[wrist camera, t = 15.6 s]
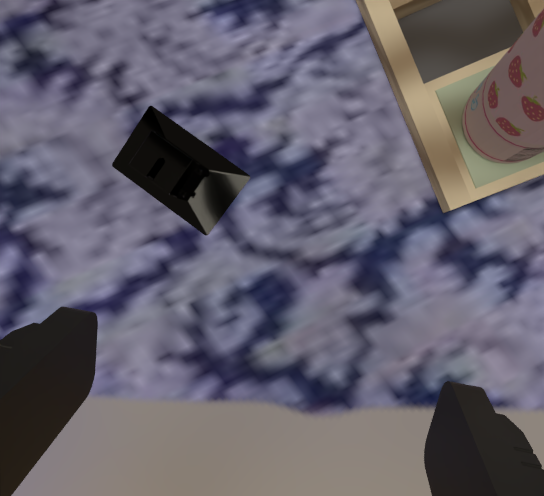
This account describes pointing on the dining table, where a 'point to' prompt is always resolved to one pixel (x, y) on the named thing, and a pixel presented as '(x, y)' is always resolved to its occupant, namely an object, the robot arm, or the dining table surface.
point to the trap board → (449, 83)
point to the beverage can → (510, 102)
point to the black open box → (180, 170)
